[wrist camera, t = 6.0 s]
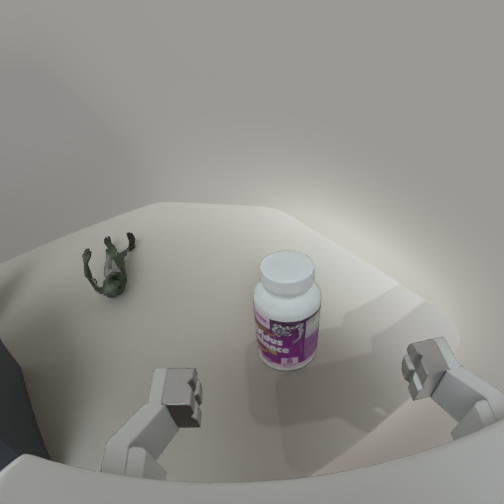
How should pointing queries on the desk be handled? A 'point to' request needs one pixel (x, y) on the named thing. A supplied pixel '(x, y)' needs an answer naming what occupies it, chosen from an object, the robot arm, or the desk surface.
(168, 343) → the desk surface
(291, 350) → the pill bottle
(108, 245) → the zombie figurine
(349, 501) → the robot arm
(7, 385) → the bin
